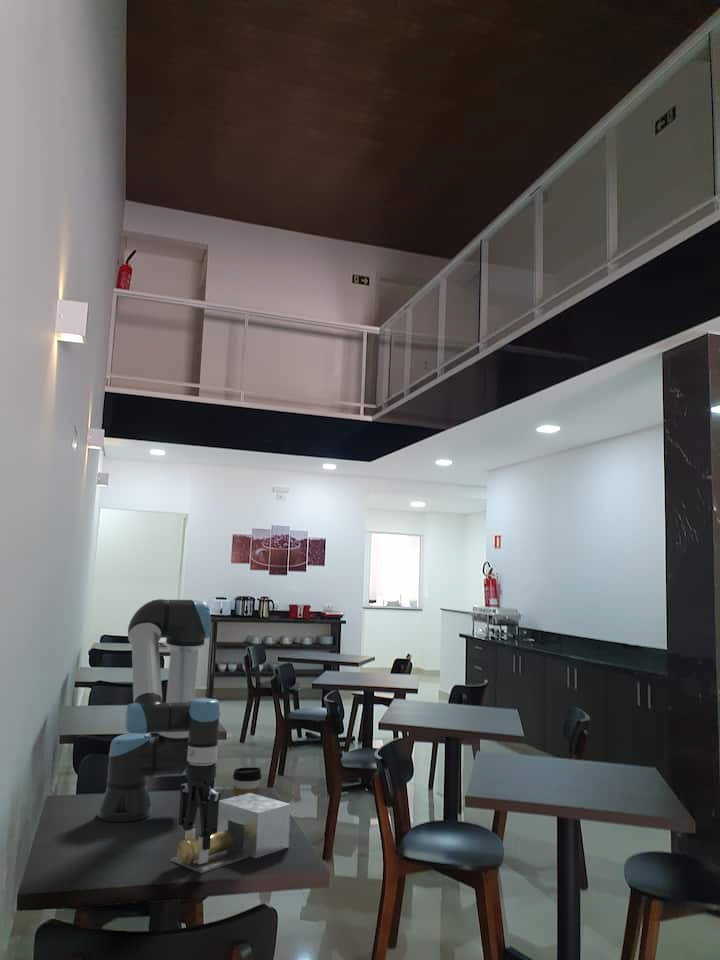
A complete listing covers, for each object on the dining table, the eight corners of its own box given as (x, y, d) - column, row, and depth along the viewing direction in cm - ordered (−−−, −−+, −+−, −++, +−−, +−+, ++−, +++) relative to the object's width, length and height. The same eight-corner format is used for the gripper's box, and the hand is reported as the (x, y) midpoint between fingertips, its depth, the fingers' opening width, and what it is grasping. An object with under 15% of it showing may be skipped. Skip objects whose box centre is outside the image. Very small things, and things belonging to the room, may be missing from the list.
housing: (165, 859, 186) (168, 813, 188) (248, 833, 208) (250, 792, 210) (206, 875, 176) (209, 826, 178) (288, 847, 198) (290, 804, 200)
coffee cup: (253, 827, 214) (256, 773, 216) (226, 824, 216) (229, 770, 218) (263, 818, 222) (265, 766, 224) (236, 816, 224) (239, 764, 226)
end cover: (176, 861, 183) (177, 837, 184) (219, 848, 193) (220, 825, 194) (190, 867, 179) (192, 843, 180) (233, 853, 190) (234, 830, 191)
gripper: (167, 758, 190) (161, 855, 187) (213, 770, 179) (207, 873, 175) (191, 754, 196) (185, 847, 192) (236, 765, 185) (231, 865, 181)
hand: (195, 859), depth 184 cm, fingers closed on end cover, 5 cm apart
